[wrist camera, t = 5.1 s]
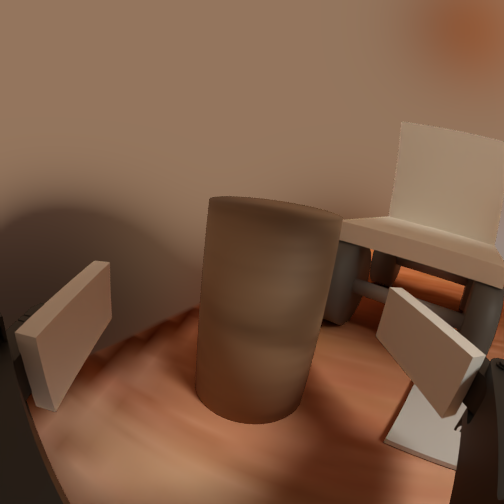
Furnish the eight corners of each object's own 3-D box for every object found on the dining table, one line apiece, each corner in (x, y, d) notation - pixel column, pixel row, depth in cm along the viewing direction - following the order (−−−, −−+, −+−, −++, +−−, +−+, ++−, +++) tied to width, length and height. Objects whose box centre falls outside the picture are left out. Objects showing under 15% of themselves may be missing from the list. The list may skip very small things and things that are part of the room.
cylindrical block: (244, 347, 21) (264, 197, 18) (320, 387, 17) (362, 218, 15) (173, 380, 16) (181, 196, 14) (255, 442, 13) (297, 224, 10)
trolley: (382, 275, 42) (406, 128, 36) (475, 306, 33) (507, 149, 28) (301, 325, 25) (340, 64, 20) (468, 392, 16) (535, 88, 11)
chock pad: (418, 374, 19) (420, 370, 19) (530, 412, 13) (532, 409, 13) (383, 442, 13) (385, 438, 13) (532, 491, 7) (535, 487, 7)
